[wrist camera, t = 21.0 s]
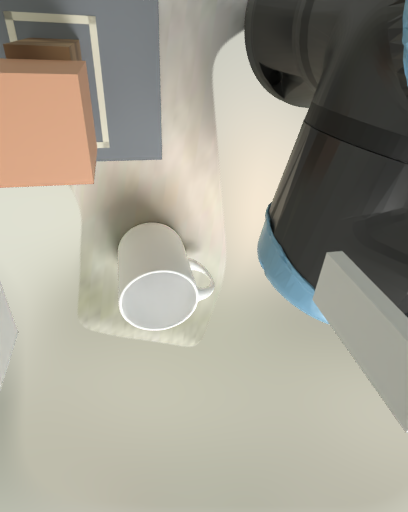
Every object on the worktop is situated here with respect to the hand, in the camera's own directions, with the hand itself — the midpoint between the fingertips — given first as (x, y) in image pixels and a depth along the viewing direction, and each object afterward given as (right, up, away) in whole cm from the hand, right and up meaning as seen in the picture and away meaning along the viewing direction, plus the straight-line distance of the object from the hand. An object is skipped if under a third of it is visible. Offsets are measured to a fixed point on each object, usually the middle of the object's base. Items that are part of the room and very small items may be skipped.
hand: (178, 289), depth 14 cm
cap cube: (-10, +12, +10) cm, 19 cm away
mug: (-5, +2, +32) cm, 32 cm away
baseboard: (-12, +18, +19) cm, 28 cm away
